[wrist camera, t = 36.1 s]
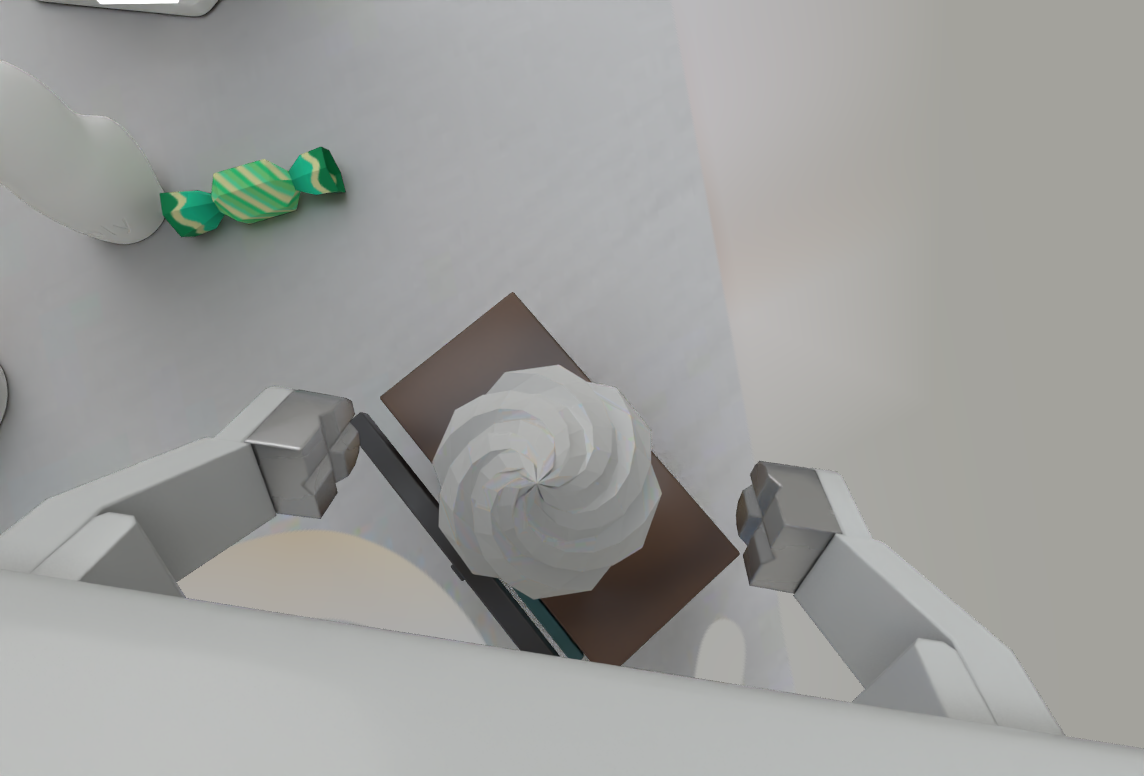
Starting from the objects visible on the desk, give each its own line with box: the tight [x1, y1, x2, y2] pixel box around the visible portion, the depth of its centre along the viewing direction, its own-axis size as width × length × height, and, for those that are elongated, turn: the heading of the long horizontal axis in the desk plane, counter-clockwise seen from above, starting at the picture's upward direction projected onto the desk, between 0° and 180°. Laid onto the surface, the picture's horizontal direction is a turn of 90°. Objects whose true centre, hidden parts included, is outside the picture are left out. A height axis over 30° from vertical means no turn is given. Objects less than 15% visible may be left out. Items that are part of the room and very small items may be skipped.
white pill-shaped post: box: [0, 60, 164, 244], centre depth 33 cm, size 7×8×12 cm
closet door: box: [451, 565, 584, 660], centre depth 28 cm, size 8×3×12 cm, turn 40°
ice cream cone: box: [432, 365, 662, 599], centre depth 15 cm, size 6×6×15 cm
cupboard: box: [350, 292, 740, 666], centre depth 29 cm, size 16×10×14 cm, turn 40°
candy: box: [160, 147, 345, 237], centre depth 37 cm, size 12×3×4 cm
